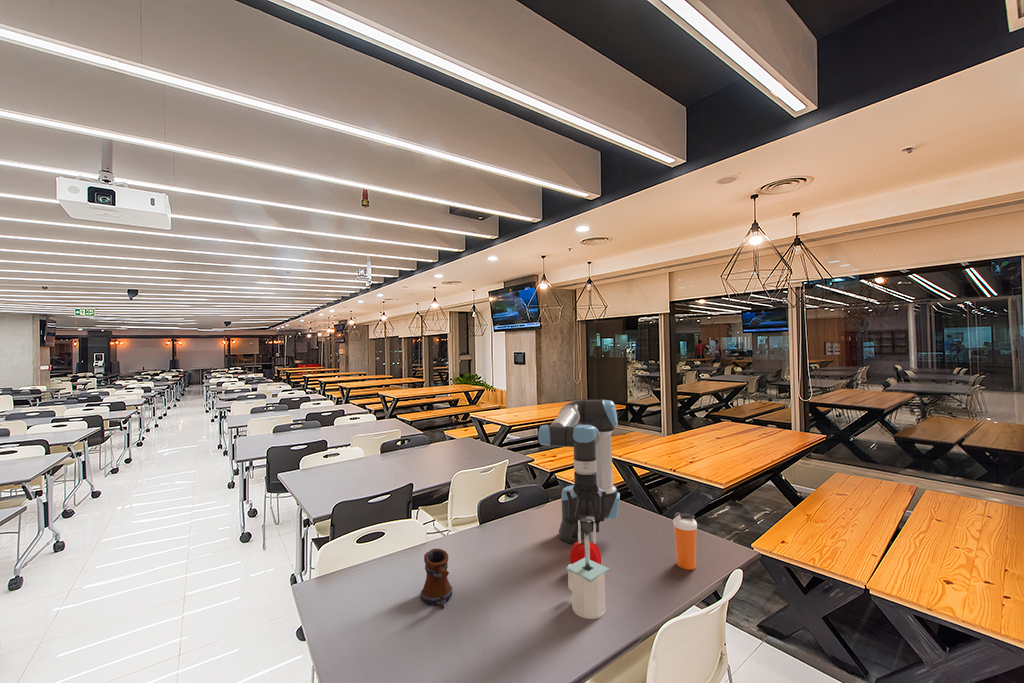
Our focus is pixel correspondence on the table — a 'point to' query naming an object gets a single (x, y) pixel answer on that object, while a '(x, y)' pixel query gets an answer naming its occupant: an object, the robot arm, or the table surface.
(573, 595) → the press pot
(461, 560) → the table surface
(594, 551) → the tomato
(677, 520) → the shaker bottle
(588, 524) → the plunger
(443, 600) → the mug
